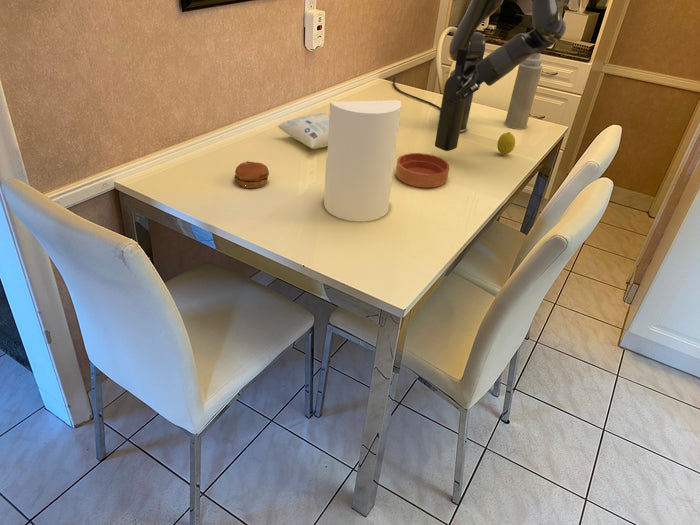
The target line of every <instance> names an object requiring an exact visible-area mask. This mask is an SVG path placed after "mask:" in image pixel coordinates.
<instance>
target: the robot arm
mask: <svg viewBox="0 0 700 525" xmlns="http://www.w3.org/2000/svg"><path fill="white" fill-rule="evenodd" d="M503 2H504V0H471V1H470V2H469V5H468V7H467V9H466V11H465V12H464V15H463V16H462V19H461V20H460V22H459V25H458V26H457V28H456V30H455V31H454V32H453V33H454V34H453V35H452V37H451V40H450V43H449V46H448V47H449V48H448V51H449V52H448V54H449V57H450V59H451V60H452V61H453V62H456V59H457V51H458V48H467V49H468V53H467V57H466V62H465V68H464V74H463V75H464V76H465V77H466V79H467V81H466V82H465V83H464V84H463V85H462V86H461V89H460V90H459V91H457V93H455V94H454V95H453V96H451V97H450V98H449V99H447V100H446V103H447V104H448V106H449V107H451V106H452V105H453V104H455V103H456V102H458V101H459V100H464V99H465V98H466V102H465V107H464V112H463V118H462V123H461V128H460V133H461V134H462V133H465V132H466V131H467V130H468V129H467V128H468V122H469V118H470V113H471V108H472V103H473V98H474V93H476V91H478V90H480V87H481V85H482V84H483V83H485V84H486V85H487V86H489V87H491V86H492V85H494V84H495V83H497V82H498V81H500V80H501V79H502V78H504V77H505V76H507V75H508V74H509V73H511V72H512V71H513V70H515V68H516V67H519V64H520V63H522V62H523V61H525V60H526V59H527V58H529V57H530V56H531V55H533V54H536V53H538V52H540V51H544V50H546V49H548V48H550V47H551V46H553V45H555V44H556V43H557V42H559V41H560V40H561V39H562V38H563V36H565V33H566V31H567V30H566V29H567V25H566V21H565V20H564V18H563V17H562V16H561V13H560V9H559V2H558V0H530V2H531V20H532V28H533V29H532V30H530V31H529V32H527V33H518V34H516V35H514V36H513V37H512V38H510V39H509V40H508V41H507V42H505V43H504V44H502V45H501V46H499V47H497V48H496V49H494V50H493V51H492V52H491V53H489V54H488V55H486V56H485V53H486V38H485V35H484V34H483V33H481V32H480V31H477V29H478V28H479V27H480V26H481V24H482V23H484V22H485V21H486V20H487V19H488V18H490V17H491V15H493V14H494V13H495V12H496V11H497V10H498V9H499V8H500V6H501V5H502V4H503ZM484 56H485V57H484ZM454 71H455V69H452V71H451V72H450V73H449V77H450V76H451V75H453V74H454ZM392 84H393V87H394V89H395V90H396V91H398V92H400V94H404V95H405V96H408V97H410V98H413V99H415V100H418V101H421V102H423V103H426V104H429V105H431V106H433V107H435V108H437V109H438V110H439V111H440V110H441V106H438V105H436V104H434V103H433V102H431V101H428V100H426V99H423V98H421V97H418V96H415V95H413V94H409V93H407V92H405V91H403V90H401V89H399V88H398V87H397V86H396V78H395V77H393V78H392ZM462 92H465V94H464V95H463V94H462ZM460 133H459V134H460Z"/></svg>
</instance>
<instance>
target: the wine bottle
mask: <svg viewBox="0 0 700 525" xmlns="http://www.w3.org/2000/svg"><path fill="white" fill-rule="evenodd" d="M467 53H468V49H467V48H458V51H457V59H456V61H455V66H454V70H455V71H454V74H453V75H451V76H450V75H449V77H448V78H446V80H445V83H444V87H443V93H442V99H441V105H440V108H441V110H440V109H439V116H438V123H437V124H438V125H437V129H436V135H435V141H434V147H435V148H437V149H439V150H442V151H444V152H450V151H453V150H455V149H457V148H458V144H459V143H458V142H459V139H460V128H461V123H462V118H463V112H464V107H465V102H466V98H465V99H464V100H459V101H458V102H456V103H455V104H453V105H452V106H451V107H449V106H448V104H447V103H446V100H447V99H449V98H450V97H451V96H453V95H454V94H455V93H457V91H459V90H460V89H461V86H462V85H463V84H464V83H465V82H466V81H467V79H466V77H465V76H464V75H463V74H464V68H465V62H466V57H467ZM462 94H463V95H464V94H465V92H462Z"/></svg>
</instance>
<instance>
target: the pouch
mask: <svg viewBox="0 0 700 525" xmlns="http://www.w3.org/2000/svg"><path fill="white" fill-rule="evenodd" d="M276 127H277V128H278V129H279V130H282V132H283V133H285V134H287V135H288V136H289V137H291V138H292V139H294V140H297V141H298V142H299V143H302V144H303V145H305V146H306V147H308V148H310V149H312V150H317V149H322V148H325V147H328V133H329V114H327V113H322V112H321V113H312V114H310V115H304V116H300V117H296V118H292V119H289V120H286V121H284V122H281V123H279V124H277V125H276Z"/></svg>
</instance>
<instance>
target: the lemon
mask: <svg viewBox="0 0 700 525" xmlns="http://www.w3.org/2000/svg"><path fill="white" fill-rule="evenodd" d="M515 145H516V138H515V135H514V134H512V133H511V132H510V131H508V132H505V133H504V132H503V133H502V134H501V135H500V136H499V138H498V140H497V144H496V146H497V147H496V148H497V150H498V152H499V153H500V154H501V155H502V156H505V155H508V154H510V153H512V151H514V149H515Z"/></svg>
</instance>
